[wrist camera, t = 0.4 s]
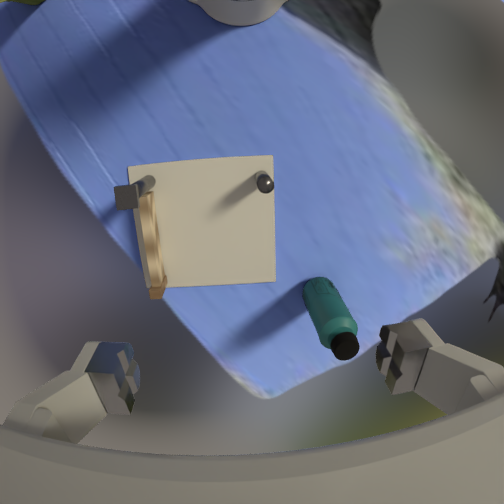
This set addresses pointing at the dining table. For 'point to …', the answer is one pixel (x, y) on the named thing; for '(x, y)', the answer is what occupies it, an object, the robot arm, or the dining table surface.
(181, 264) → the mat
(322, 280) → the beverage bottle
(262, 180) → the post
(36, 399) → the robot arm
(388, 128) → the dining table surface
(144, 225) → the gate
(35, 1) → the plant pot
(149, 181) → the gate post
